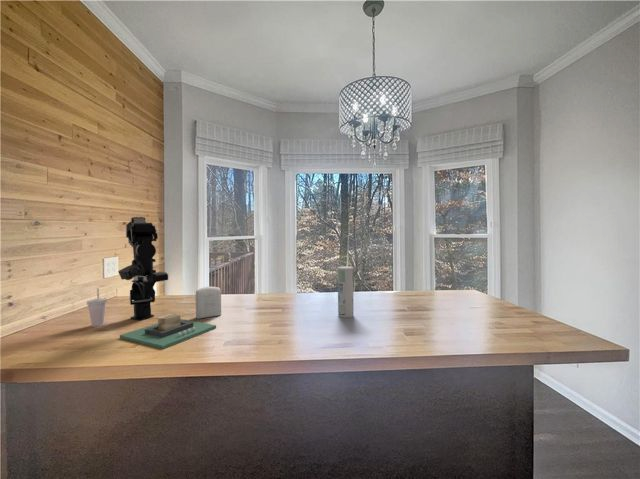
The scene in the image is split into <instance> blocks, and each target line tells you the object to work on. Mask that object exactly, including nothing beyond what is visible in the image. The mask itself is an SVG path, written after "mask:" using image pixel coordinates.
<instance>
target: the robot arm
mask: <svg viewBox="0 0 640 479" xmlns="http://www.w3.org/2000/svg"><path fill="white" fill-rule="evenodd" d="M125 235H126V236H125V237H126V239H127V240H128V244H129V245H130V246H131V247H132V251H133V259H132V261H131V264H129V265H128V266H125V267H124V268H122V269H119V270H118V271H117V272H118V274H119V277H120V278H121V280H122V281H123V280H126V281H131V282H132V285H131V289H130V290H129V304H130V306H133V316H130V319H133V320H138V321H141V320H145V319H149V318H153V317H154V316H155V314H152V306H151V303H154V302H155V301H156V290H155V289H154V286H155V285H156V283H159V282H162V281H163V282H164V281H169V274H168V273H167V272H164V271H157V270H156V269H154V262H156V258H154V257H155V255H156V254H157V253H156V252H157V248H156V246H155V245H154V244H153V242H157V239H158V237H159V235H158V230H157V228H156V226H155V225H153V222H147V221H146V217H145V216H144V217H143V216H132V217H131V218H130V221H129V222H128V223H127V224H126V226H125Z"/></svg>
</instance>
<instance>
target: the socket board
mask: <svg viewBox="0 0 640 479" xmlns="http://www.w3.org/2000/svg"><path fill="white" fill-rule="evenodd" d="M180 322H181V325H180V326H177V327H174V328H171V329H168V330H165V331H161V330H158V322H156V323H155V324H151V325H148V326H145V327H141V328H138V329H135V330H133V331H129V332H126V333H122V334H120V335H119V339H121V338H122V340H125V339H126V341H129V340H130V342H133V341H134V343H137V342H138V344H141V343H142V345H145V344H146V346H150V347H154V348H157V349H161V350H164V349H168V348H169V347H172V346H175V345H177V344H180V343H182V342H185V341H187V340H190V339H193V338H194V337H197V336H200V335H202V334H204V333H207V332H210V331H212V330H215V329H217V325H216V324H211V323H207V322H206V323H204V322H200V321H199V322H198V321H194V320H189V319H182V318H180Z"/></svg>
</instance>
